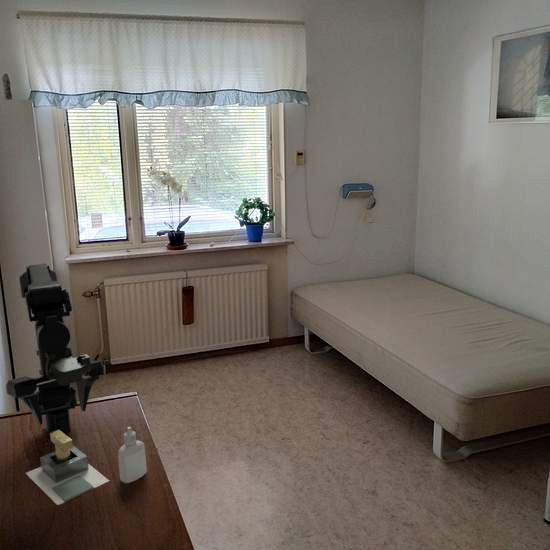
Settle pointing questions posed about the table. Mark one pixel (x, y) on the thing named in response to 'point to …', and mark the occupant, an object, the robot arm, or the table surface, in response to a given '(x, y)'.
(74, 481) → the mat
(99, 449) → the table surface
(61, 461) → the tan flat lever
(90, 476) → the board
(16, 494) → the table surface
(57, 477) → the grey square frame
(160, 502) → the table surface
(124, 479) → the eye dropper bottle
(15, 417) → the table surface
